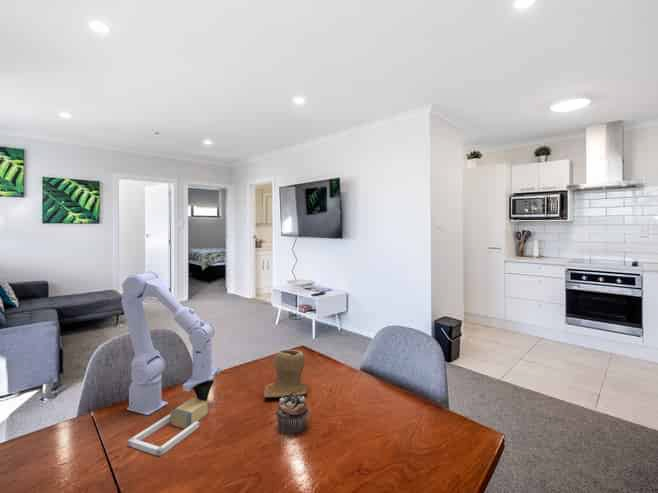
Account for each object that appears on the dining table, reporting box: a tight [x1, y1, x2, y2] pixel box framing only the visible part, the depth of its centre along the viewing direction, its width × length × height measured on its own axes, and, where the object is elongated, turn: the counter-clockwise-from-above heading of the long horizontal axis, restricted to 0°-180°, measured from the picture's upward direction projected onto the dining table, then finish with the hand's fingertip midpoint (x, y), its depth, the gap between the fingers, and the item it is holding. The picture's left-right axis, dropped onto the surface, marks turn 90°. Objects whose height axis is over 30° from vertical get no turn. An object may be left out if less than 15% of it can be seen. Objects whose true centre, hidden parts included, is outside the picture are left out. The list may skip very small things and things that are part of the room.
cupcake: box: [275, 392, 309, 436], centre depth 102 cm, size 10×10×10 cm
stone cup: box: [263, 349, 308, 399], centre depth 123 cm, size 15×12×15 cm
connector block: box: [169, 397, 209, 430], centre depth 105 cm, size 6×9×4 cm
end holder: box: [127, 413, 200, 457], centre depth 97 cm, size 11×14×2 cm
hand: (202, 403), depth 111 cm, fingers closed
